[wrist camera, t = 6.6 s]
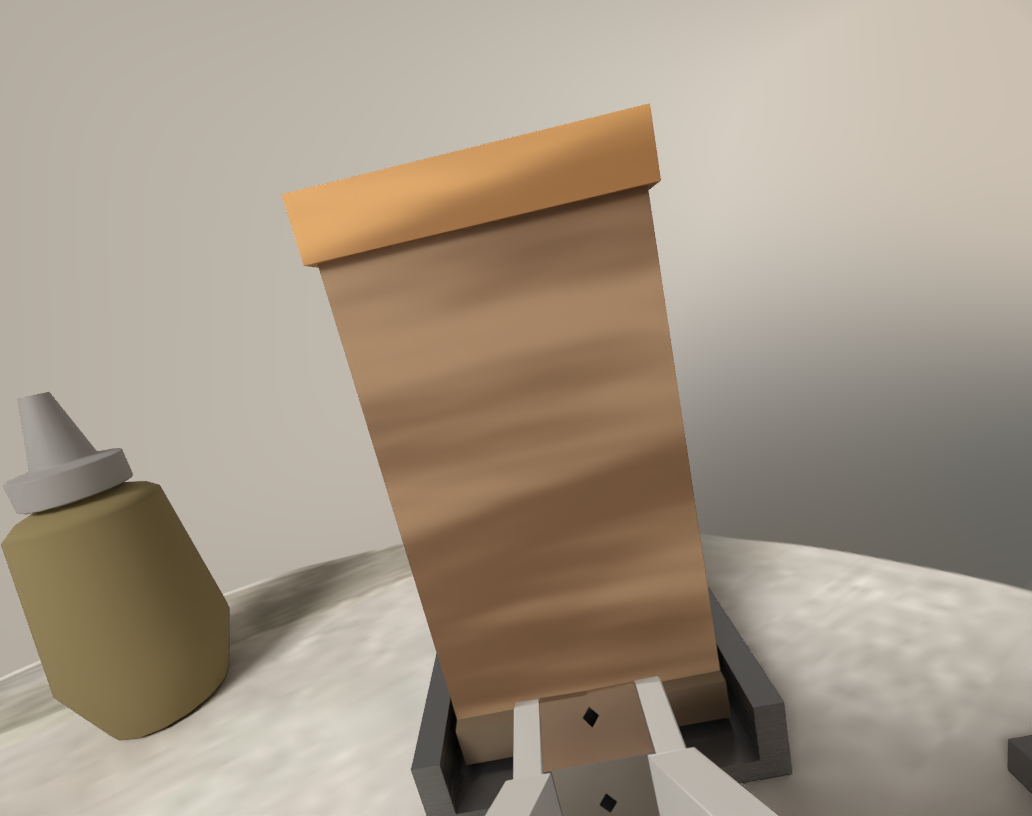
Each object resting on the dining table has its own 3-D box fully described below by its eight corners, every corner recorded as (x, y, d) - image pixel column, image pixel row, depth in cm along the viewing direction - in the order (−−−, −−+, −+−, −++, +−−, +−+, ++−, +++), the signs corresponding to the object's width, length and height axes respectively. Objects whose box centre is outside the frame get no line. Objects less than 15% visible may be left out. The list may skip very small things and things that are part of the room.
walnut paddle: (739, 715, 18) (651, 100, 13) (458, 766, 18) (278, 192, 14) (698, 639, 22) (620, 144, 17) (468, 683, 22) (331, 215, 17)
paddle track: (792, 773, 16) (783, 702, 16) (433, 836, 17) (411, 770, 16) (671, 564, 29) (664, 519, 28) (468, 605, 30) (456, 562, 29)
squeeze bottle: (209, 738, 24) (50, 389, 20) (41, 785, 23) (-157, 437, 19) (271, 631, 32) (166, 366, 28) (146, 664, 31) (21, 399, 27)
